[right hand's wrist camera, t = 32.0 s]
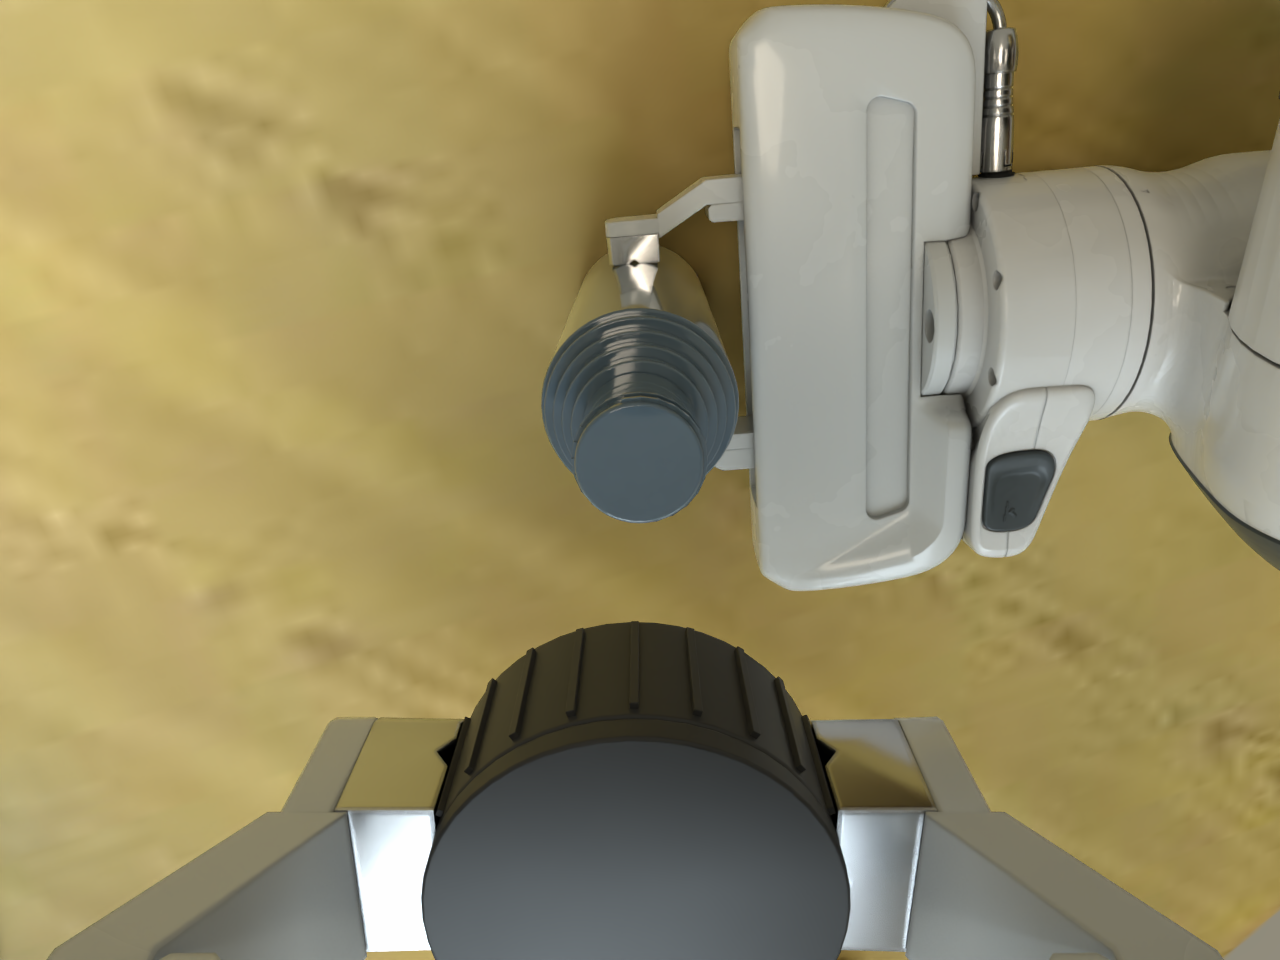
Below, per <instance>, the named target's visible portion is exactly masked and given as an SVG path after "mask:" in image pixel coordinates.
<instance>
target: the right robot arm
mask: <svg viewBox="0 0 1280 960" xmlns="http://www.w3.org/2000/svg"><path fill="white" fill-rule="evenodd" d="M463 721H464V719H431V718H384V717H381V718H379V719H378V718H376V717H337V718H335V719H334V720H332V721H330V722H329V723H328V724H327V726H326V728H325V730H324V732H323V734H322V736H321V738H320V739H319V741H318V743H317V745H316V747H315V749H314V751H313V752H312V754H311V756H310V758H309V760H308V762H307V764H306V766H305V767H304V769H303V771H302V773H301V775H300V777H299V779H298V780H297V782H296V784H295V786H294V788H293V790H292V792H291V794H290V795H289V797H288V799H287V801H286V803H285V805H284V807H283V809H282V810H281V812H267V813H265V814H264V815H262V816H261V817H259V818H257V819H256V820H254V821H253V822H251V823H250V824H248V825H247V826H245V827H243V828H242V829H240V830H239V831H237V832H236V833H234V834H233V835H231V836H229V837H228V838H226V839H225V840H223V841H222V842H220V843H219V844H217V845H215V846H214V847H212V848H211V849H209V850H208V851H206V852H205V853H203V854H201V855H200V856H198V857H197V858H195V859H194V860H192V861H191V862H189V863H187V864H186V865H184V866H183V867H181V868H180V869H178V870H177V871H175V872H173V873H172V874H170V875H169V876H167V877H166V878H164V879H163V880H161V881H159V882H158V883H156V884H155V885H153V886H152V887H150V888H148V889H147V890H145V891H144V892H142V893H141V894H139V895H138V896H136V897H134V898H133V899H131V900H130V901H128V902H127V903H125V904H124V905H122V906H120V907H119V908H117V909H116V910H114V911H113V912H111V913H110V914H108V915H106V916H105V917H103V918H102V919H100V920H99V921H97V922H96V923H94V924H92V925H91V926H89V927H88V928H86V929H85V930H83V931H82V932H80V933H78V934H77V935H75V936H74V937H72V938H71V939H69V940H68V941H66V942H64V943H63V944H61V945H60V946H58V947H57V948H55V949H54V950H53V952H52V953H51V954H50V956H49V957H48V959H47V960H364V959H365V958H366V957H367V953H366V952H373V951H407V950H431V948H430V946H429V944H428V941H427V936H426V932H425V928H424V924H423V920H422V906H421V892H422V882H423V875H424V871H425V868H426V864H427V860H428V857H429V853H430V850H431V847H432V843H433V840H434V836H435V833H436V830H437V826H438V823H439V819H440V817H439V816H436V815H435V813H436V810H437V807H438V803H439V800H440V797H441V793H442V790H443V787H444V783H445V780H446V777H447V773H448V770H449V767H450V763H451V760H452V757H453V753H454V750H455V747H456V744H457V740H458V737H459V734H460V730H461V727H462V724H463ZM809 721H810V724H811V728H812V731H813V735H814V738H815V742H816V745H817V749H818V752H819V756H820V759H821V763H822V766H823V769H824V773H825V776H826V780H827V783H828V787H829V790H830V794H831V797H832V801H833V804H834V808H835V811H836V813H835V814H832V819H833V822H834V826H835V829H836V833H837V835H838V839H839V843H840V846H841V849H842V853H843V856H844V860H845V863H846V868H847V873H848V878H849V883H850V900H851V910H850V917H849V923H848V930H847V934H846V937H845V940H844V943H843V946H842V949H841V950H864V951H899V952H906V954H905V956H906V957H907V958H908V959H909V960H1224V959H1223V958H1222V956H1221V955H1220V954H1219V952H1218V951H1217V950H1216V949H1214V948H1213V947H1211V946H1210V945H1208V944H1207V943H1205V942H1204V941H1202V940H1200V939H1199V938H1197V937H1196V936H1194V935H1193V934H1191V933H1190V932H1188V931H1187V930H1185V929H1184V928H1182V927H1180V926H1179V925H1177V924H1176V923H1174V922H1173V921H1171V920H1170V919H1168V918H1167V917H1165V916H1164V915H1162V914H1160V913H1159V912H1157V911H1156V910H1154V909H1153V908H1151V907H1150V906H1148V905H1147V904H1145V903H1144V902H1142V901H1141V900H1139V899H1137V898H1136V897H1134V896H1133V895H1131V894H1130V893H1128V892H1127V891H1125V890H1124V889H1122V888H1121V887H1119V886H1117V885H1116V884H1114V883H1113V882H1111V881H1110V880H1108V879H1107V878H1105V877H1104V876H1102V875H1101V874H1099V873H1097V872H1096V871H1094V870H1093V869H1091V868H1090V867H1088V866H1087V865H1085V864H1084V863H1082V862H1081V861H1079V860H1077V859H1076V858H1074V857H1073V856H1071V855H1070V854H1068V853H1067V852H1065V851H1064V850H1062V849H1061V848H1059V847H1057V846H1056V845H1054V844H1053V843H1051V842H1050V841H1048V840H1047V839H1045V838H1044V837H1042V836H1041V835H1039V834H1037V833H1036V832H1034V831H1033V830H1031V829H1030V828H1028V827H1027V826H1025V825H1024V824H1022V823H1021V822H1019V821H1017V820H1016V819H1014V818H1013V817H1011V816H1010V815H1008V814H1007V813H1005V812H991V810H990V808H989V807H988V805H987V803H986V801H985V799H984V797H983V795H982V793H981V791H980V790H979V788H978V786H977V784H976V782H975V780H974V778H973V776H972V774H971V773H970V771H969V769H968V767H967V765H966V763H965V761H964V759H963V757H962V756H961V754H960V752H959V750H958V748H957V746H956V744H955V742H954V741H953V739H952V737H951V735H950V733H949V731H948V729H947V727H946V725H945V724H944V722H943V721H942V720H941V719H939V718H938V717H912V718H894V719H871V720H809Z"/></svg>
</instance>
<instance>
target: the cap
mask: <svg viewBox="0 0 1280 960" xmlns="http://www.w3.org/2000/svg"><path fill="white" fill-rule="evenodd" d="M835 813H836V811H835V808H834V804H833V801H832V797H831V794H830V790H829V787H828V783H827V780H826V776H825V773H824V769H823V766H822V763H821V759H820V756H819V752H818V749H817V745H816V742H815V738H814V735H813V731H812V728H811V724H810V721H809V718H808V716H807V715H804V716H802V715H801V713H800V711H799V710H798V708H797V706H796V704H795V702H794V701H793V699H792V698H791V696H790V695H789V694H788V692H787V691H786V690H785V686H784V683H783V680H782V679H781V678H780V677H777V678H775V677H774V676H773V675H772V674H771V673H770V672H769V671H768V670H767V669H766V668H765V667H763V666H762V665H761V664H759V663H758V662H757V661H755V660H754V659H753V658H751V657H750V656H748V655H747V654H746V653H744V650H743V649H742V648H740V647H738V646H737V648H735V647H733V646H732V645H730V644H728V643H726V642H724V641H722V640H719V639H717V638H714V637H712V636H709V635H707V634H704V633H702V632H698V631H694V629H692V628H688V627H687V628H683V627H679V626H673V625H666V624H659V623H641V622H638V621H632V622H627V623H615V624H605V625H600V626H595V627H590V628H585V629H584V628H580V629H577V630H576V631H575V632H572V633H569V634H566V635H563V636H560V637H558V638H556V639H554V640H552V641H549V642H547V643H545V644H543V645H541V646H539V647H537V648H536V649H534V648H531V649H529V650H528V651H527V653H526V655H525V656H523V657H522V658H520V659H518V660H517V661H516V662H515V663H514V664H512V665H511V666H510V667H509V668H508V669H507V670H505V671H504V672H503V673H502V674H501V675H500V676H499V677H498V678H497V679H496V680H494V679H493V678H492V679H491V680H490V681H489V683H488V685H487V689H486V692H485V694H484V695H483V697H482V698H481V700H480V701H479V703H478V704H477V706H476V707H475V709H474V711H473V714H472V716H471V718H468V717H465V719H464V721H463V724H462V727H461V730H460V734H459V737H458V740H457V744H456V747H455V750H454V753H453V757H452V760H451V763H450V767H449V770H448V773H447V777H446V780H445V783H444V787H443V790H442V793H441V797H440V800H439V803H438V807H437V810H436V813H435V815H436V816H439V817H440V819H439V823H438V826H437V830H436V833H435V836H434V840H433V843H432V847H431V850H430V853H429V857H428V860H427V864H426V868H425V871H424V875H423V882H422V892H421V906H422V920H423V924H424V928H425V932H426V936H427V941H428V944H429V946H430V948H431V951H432V953H433V956H434V958H435V960H837V958H838V956H839V954H840V952H841V949H842V946H843V943H844V940H845V937H846V934H847V930H848V923H849V917H850V910H851V900H850V883H849V878H848V873H847V868H846V863H845V860H844V856H843V853H842V849H841V846H840V843H839V839H838V835H837V833H836V829H835V826H834V822H833V819H832V814H835Z"/></svg>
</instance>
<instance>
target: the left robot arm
mask: <svg viewBox="0 0 1280 960" xmlns="http://www.w3.org/2000/svg"><path fill="white" fill-rule="evenodd" d="M987 11H988V13H989V15H990V17H991V20H992V24H993V29H992V30H987V31H986V22H987ZM1017 64H1018V37H1017V31H1016V28H1014V27H1008V28H1007V24H1006V18H1005V15H1004V11H1003V8H1002V6H1001V4H1000V2H999V1H998V0H889V1H888V2H887V3H886V4H885V5H884V7H877V6H863V5H839V4H810V5H785V6H774V7H767V8H764V9H761V10H758V11H757V12H755V13H754V14H753V15H751V16H750V17H749V18H748V19H747V20H746V21H745V22H744V23H743V25H742V26H741V27H740V28H739V30H738V31H737V33H736V34H735V36H734V37H733V39H732V40H731V43H730V46H729V66H730V86H731V107H732V128H733V149H734V169H735V174H728V175H718V176H708V177H701V178H700V179H699V180H697V181H696V182H694V183H693V184H692V185H690V186H689V187H688V188H686V189H685V190H683V191H682V192H681V193H679V194H678V195H677V196H675V197H674V198H672V199H671V200H670V201H668V202H667V203H666V204H664V205H663V206H661V207H660V208H659V209H657V214H649V215H638V216H627V217H617V218H612V219H607V220H606V221H605V229H606V240H607V248H608V257H609V265H611V266H622V265H627V264H630V263H631V262H632V261H633V260H635V261H637V262H639V263H655V262H660V254H659V238H661V237H662V236H663V235H665V234H666V233H668V232H669V231H671V230H672V229H673V228H675V227H676V226H678V225H679V224H680V223H682V222H683V221H685V220H686V219H688V218H689V217H690V216H692V215H693V214H695V213H696V212H698V211H699V210H700V209H702V208H703V207H705V214H706V216H707V217H708V219H709V220H710V221H711V222H725V221H737V232H738V253H739V273H740V294H741V315H742V336H743V356H744V377H745V398H746V416H739V417H738V420H737V424H736V428H735V431H734V434H733V437H732V439H731V442H730V444H729V446H728V447H727V449H726V451H725V453H724V454H723V456H722V457H721V458H720V460H719V461H718V462H717V464H716V465H715V466H714V467H716V468H718V469H721V470H723V471H724V470H737V469H749V481H750V502H751V522H752V540H753V546H754V551H755V555H756V559H757V562H758V565H759V569H760V571H761V573H762V575H763V576H765V577H766V578H768V579H769V580H771V581H772V582H774V583H776V584H778V585H780V586H781V587H783V588H785V589H788V590H792V591H813V590H826V589H835V588H844V587H852V586H859V585H866V584H872V583H878V582H884V581H889V580H895V579H900V578H904V577H909V576H913V575H916V574H919V573H922V572H925V571H927V570H930V569H932V568H934V567H935V566H937V565H939V564H940V563H942V562H943V561H945V560H946V559H947V558H948V557H949V556H950V555H951V554H952V553H953V552H954V550H955V549H956V548H957V546H958V544H959V543H960V540H961V539H962V540H963V541H964V542H965V543H966V544H967V545H968V546H969V547H970V548H971V549H973V550H974V551H975V552H976V553H977V554H979V555H981V556H985V557H1008V556H1014V555H1017V554H1019V553H1021V552H1023V551H1024V550H1025V549H1026V548H1027V547H1028V546H1029V545H1030V543H1031V542H1032V540H1033V538H1034V536H1035V534H1036V532H1037V529H1038V527H1039V525H1040V522H1041V520H1042V517H1043V515H1044V512H1045V510H1046V508H1047V505H1048V503H1049V501H1050V498H1051V496H1052V493H1053V491H1054V489H1055V487H1056V484H1057V482H1058V480H1059V478H1060V475H1061V473H1062V471H1063V469H1064V467H1065V465H1066V463H1067V461H1068V459H1069V457H1070V455H1071V453H1072V451H1073V449H1074V447H1075V445H1076V443H1077V441H1078V439H1079V437H1080V436H1081V434H1082V432H1083V430H1084V428H1085V426H1086V425H1087V423H1088V421H1090V420H1100V419H1104V418H1107V417H1110V416H1114V415H1118V414H1122V413H1126V412H1136V411H1138V412H1146V413H1150V414H1153V415H1155V416H1157V417H1159V418H1161V419H1163V420H1164V421H1165V422H1166V423H1167V425H1168V426H1169V428H1170V430H1171V433H1170V435H1169V442H1170V445H1171V447H1172V450H1173V451H1174V453H1175V455H1176V456H1177V458H1178V459H1179V461H1180V462H1181V464H1182V465H1183V466H1184V468H1185V469H1186V471H1187V472H1188V474H1189V475H1190V477H1191V478H1192V479H1193V481H1194V482H1195V484H1196V485H1197V486H1198V487H1199V489H1200V490H1201V491H1202V492H1203V494H1204V495H1205V496H1206V498H1207V499H1208V500H1209V501H1210V503H1211V504H1212V505H1213V507H1214V508H1215V509H1216V510H1217V511H1218V513H1219V514H1220V515H1221V516H1222V517H1223V518H1224V520H1225V521H1226V522H1227V523H1228V524H1229V526H1230V527H1231V528H1232V529H1233V530H1234V531H1235V532H1236V533H1237V534H1238V535H1239V536H1240V537H1241V538H1242V540H1243V541H1245V542H1246V543H1247V544H1248V545H1249V546H1250V547H1251V548H1252V549H1253V550H1254V551H1255V552H1257V553H1258V554H1259V555H1260V556H1261V557H1263V558H1264V559H1265V560H1266V561H1267V562H1269V563H1270V564H1271V565H1272V566H1274V567H1275V568H1277V569H1278V570H1280V119H1279V123H1278V127H1277V131H1276V135H1275V139H1274V142H1273V146H1272V150H1265V151H1251V152H1240V153H1230V154H1222V155H1217V156H1213V157H1209V158H1206V159H1203V160H1200V161H1198V162H1195V163H1193V164H1190V165H1188V166H1185V167H1182V168H1179V169H1175V170H1170V171H1165V172H1145V171H1139V170H1135V169H1131V168H1126V167H1120V166H1112V165H1098V166H1089V167H1078V168H1068V169H1057V170H1046V171H1035V172H1021V173H1015V172H1012V163H1013V140H1014V115H1013V113H1014V109H1013V106H1012V104H1013V97H1012V95H1013V88H1012V86H1013V81H1014V72H1015V71H1016V70H1017ZM1279 99H1280V93H1279ZM980 173H981V174H980ZM978 174H979V175H978ZM972 175H978V177H972ZM658 234H659V237H658Z"/></svg>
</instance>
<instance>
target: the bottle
mask: <svg viewBox="0 0 1280 960" xmlns="http://www.w3.org/2000/svg"><path fill="white" fill-rule="evenodd" d="M659 254H660V262H655V263H639V262H637V261H635V260H633V261H632V262H631V263H630V264H627V265H622V266H611V265H609V257H608V253H607V254H605V255H604V256H602V257H601V258H600V259H599V260H598V261H597V262H596V263H595V264H594V265H593V266H592V267H591V268H590V270H589V271H588V273H587V275H586V276H585V278H584V280H583V282H582V285H581V287H580V290H579V292H578V295H577V297H576V300H575V302H574V305H573V307H572V310H571V312H570V315H569V317H568V320H567V322H566V325H565V327H564V330H563V332H562V334H561V337H560V339H559V342H558V344H557V347H556V349H555V352H554V354H553V357H552V359H551V362H550V364H549V367H548V369H547V372H546V376H545V379H544V383H543V388H542V397H541V409H542V418H543V423H544V427H545V431H546V433H547V436H548V438H549V441H550V443H551V445H552V447H553V449H554V450H555V452H556V454H557V455H558V457H559V458H560V459H561V461H562V462H563V463H564V465H565V466H566V467H567V468H568V469H569V470H570V471H571V472H572V473H573V475H574V477H575V479H576V481H577V483H578V485H579V487H580V490H581V492H582V493H583V494H584V495H585V496H586V498H587V499H588V500H589V501H590V502H591V503H592V505H594V506H595V507H596V508H597V509H599V510H600V511H601V512H603V513H605V514H606V515H608V516H610V517H612V518H615V519H618V520H621V521H625V522H630V523H648V522H654V521H659V520H662V519H664V518H667V517H669V516H673V515H674V514H676V513H677V512H679V511H680V510H681V509H683V508H684V507H686V506H687V505H688V504H689V503H690V502H691V501H692V499H693V498H694V497H695V496H696V495H697V494H698V492H699V490H700V488H701V486H702V484H703V481H704V479H705V476H706V475H707V474H708V473H709V472H710V470H711V469H712V468H713V467H714V466H715V465H716V464H717V462H718V461H719V460H720V458H721V457H722V456H723V454H724V453H725V451H726V449H727V447H728V446H729V444H730V442H731V439H732V437H733V434H734V431H735V428H736V424H737V420H738V411H739V394H738V388H737V382H736V379H735V375H734V372H733V369H732V366H731V364H730V361H729V358H728V355H727V353H726V350H725V347H724V345H723V342H722V339H721V336H720V334H719V331H718V328H717V326H716V323H715V320H714V318H713V315H712V312H711V309H710V307H709V304H708V301H707V299H706V296H705V293H704V290H703V288H702V285H701V283H700V281H699V278H698V276H697V275H696V273H695V272H694V270H693V269H692V267H691V266H690V265H689V264H688V263H687V262H686V261H685V260H684V259H683V258H682V257H680V256H679V255H678V254H676V253H675V252H673V251H671V250H669V249H667V248H664V247H662V246H659Z"/></svg>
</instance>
